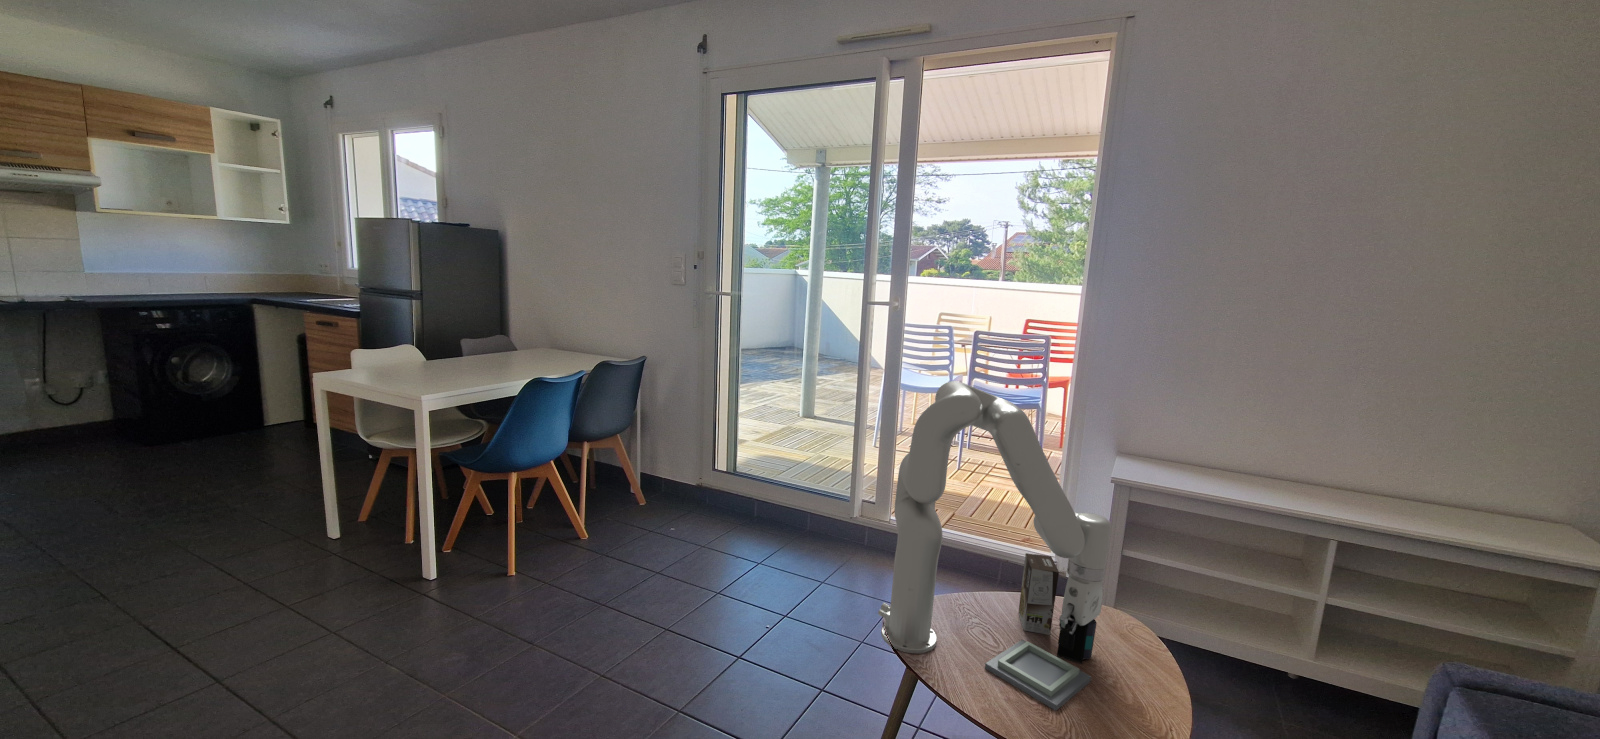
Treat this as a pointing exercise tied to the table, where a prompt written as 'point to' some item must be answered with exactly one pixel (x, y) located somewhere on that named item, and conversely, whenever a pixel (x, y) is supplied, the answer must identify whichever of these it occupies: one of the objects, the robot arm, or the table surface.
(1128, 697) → the table surface
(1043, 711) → the table surface
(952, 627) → the table surface
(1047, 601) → the coffee box
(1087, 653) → the speaker
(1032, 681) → the dock
